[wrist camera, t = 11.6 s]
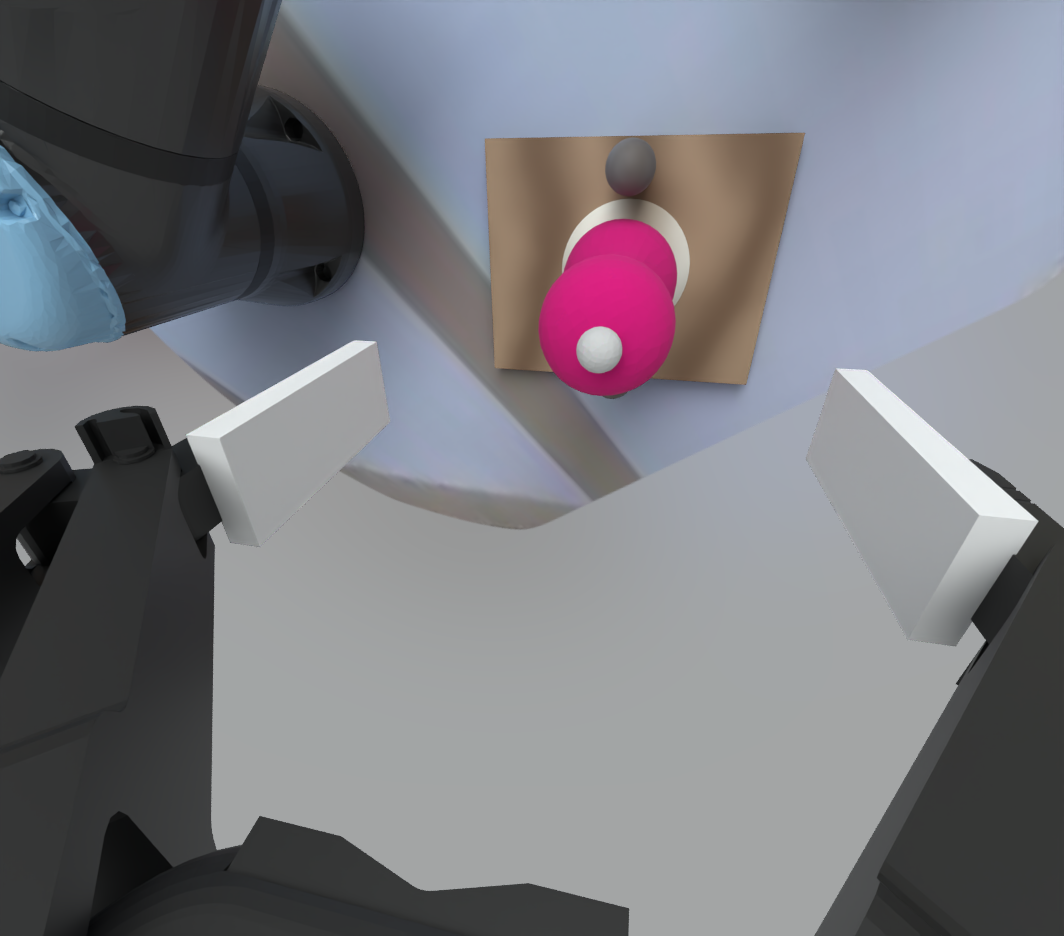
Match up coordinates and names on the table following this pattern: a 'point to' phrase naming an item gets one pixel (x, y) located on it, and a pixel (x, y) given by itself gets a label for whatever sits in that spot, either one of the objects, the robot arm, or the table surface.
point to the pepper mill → (611, 309)
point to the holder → (663, 203)
